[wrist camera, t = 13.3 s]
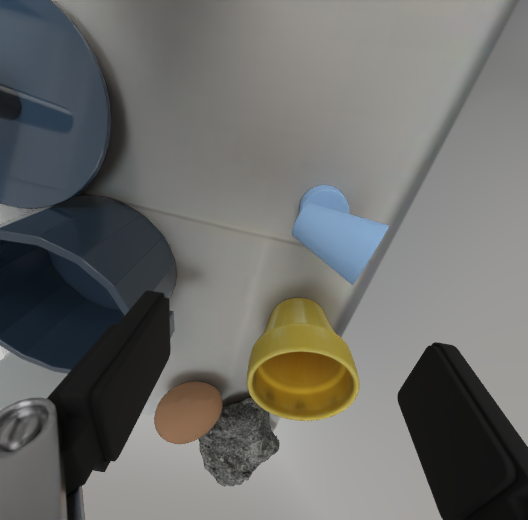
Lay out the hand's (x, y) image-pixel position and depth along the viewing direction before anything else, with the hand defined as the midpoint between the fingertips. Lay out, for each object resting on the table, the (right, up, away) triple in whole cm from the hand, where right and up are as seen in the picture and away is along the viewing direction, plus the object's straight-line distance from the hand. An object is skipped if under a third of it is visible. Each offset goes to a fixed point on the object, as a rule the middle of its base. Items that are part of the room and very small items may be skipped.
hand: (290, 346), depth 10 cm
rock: (-9, -24, +29) cm, 39 cm away
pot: (-19, +3, +21) cm, 29 cm away
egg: (-17, -21, +30) cm, 40 cm away
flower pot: (+3, -4, +23) cm, 24 cm away
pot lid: (-21, +16, +12) cm, 29 cm away
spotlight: (+5, +8, +16) cm, 19 cm away
